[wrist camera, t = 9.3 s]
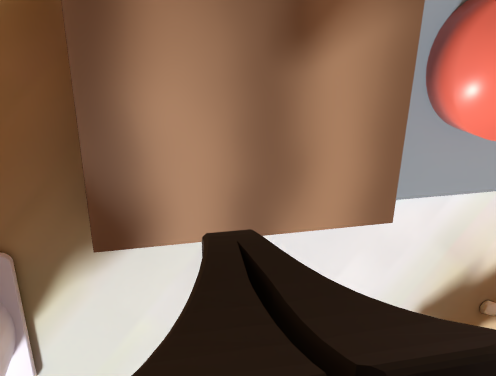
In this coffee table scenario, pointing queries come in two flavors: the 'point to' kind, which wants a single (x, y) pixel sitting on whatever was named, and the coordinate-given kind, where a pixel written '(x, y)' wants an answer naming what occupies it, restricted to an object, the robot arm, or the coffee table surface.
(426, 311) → the coffee table surface
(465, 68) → the red ball
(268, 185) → the board
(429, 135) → the mat
